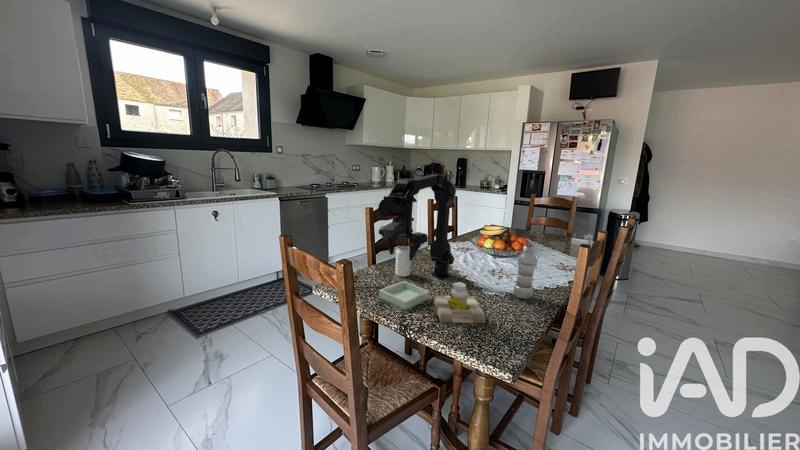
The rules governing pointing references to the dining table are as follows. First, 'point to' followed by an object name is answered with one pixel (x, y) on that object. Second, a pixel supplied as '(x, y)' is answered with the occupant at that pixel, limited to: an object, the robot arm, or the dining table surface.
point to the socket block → (459, 311)
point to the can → (403, 261)
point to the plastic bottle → (525, 273)
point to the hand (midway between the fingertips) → (400, 257)
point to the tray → (404, 295)
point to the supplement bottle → (459, 296)
